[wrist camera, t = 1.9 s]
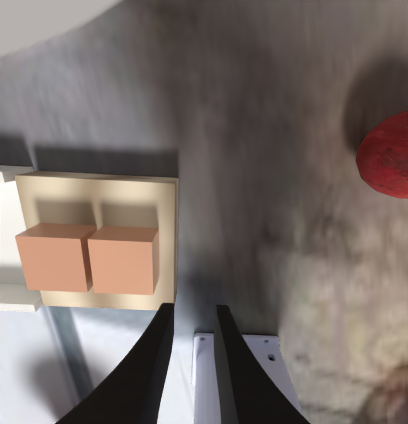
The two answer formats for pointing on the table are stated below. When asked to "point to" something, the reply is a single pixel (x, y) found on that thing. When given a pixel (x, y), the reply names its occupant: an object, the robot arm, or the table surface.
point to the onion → (386, 156)
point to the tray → (13, 246)
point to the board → (107, 223)
